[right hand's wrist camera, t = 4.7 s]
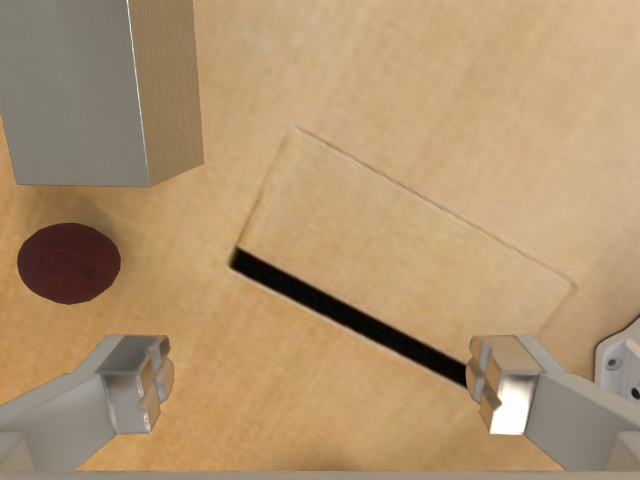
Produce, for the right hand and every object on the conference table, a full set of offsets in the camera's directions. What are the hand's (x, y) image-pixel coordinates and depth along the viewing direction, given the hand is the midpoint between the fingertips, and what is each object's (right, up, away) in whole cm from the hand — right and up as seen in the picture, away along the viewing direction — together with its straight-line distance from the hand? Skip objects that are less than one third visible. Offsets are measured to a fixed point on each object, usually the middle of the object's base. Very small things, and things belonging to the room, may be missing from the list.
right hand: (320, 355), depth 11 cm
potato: (-22, +2, +28) cm, 36 cm away
